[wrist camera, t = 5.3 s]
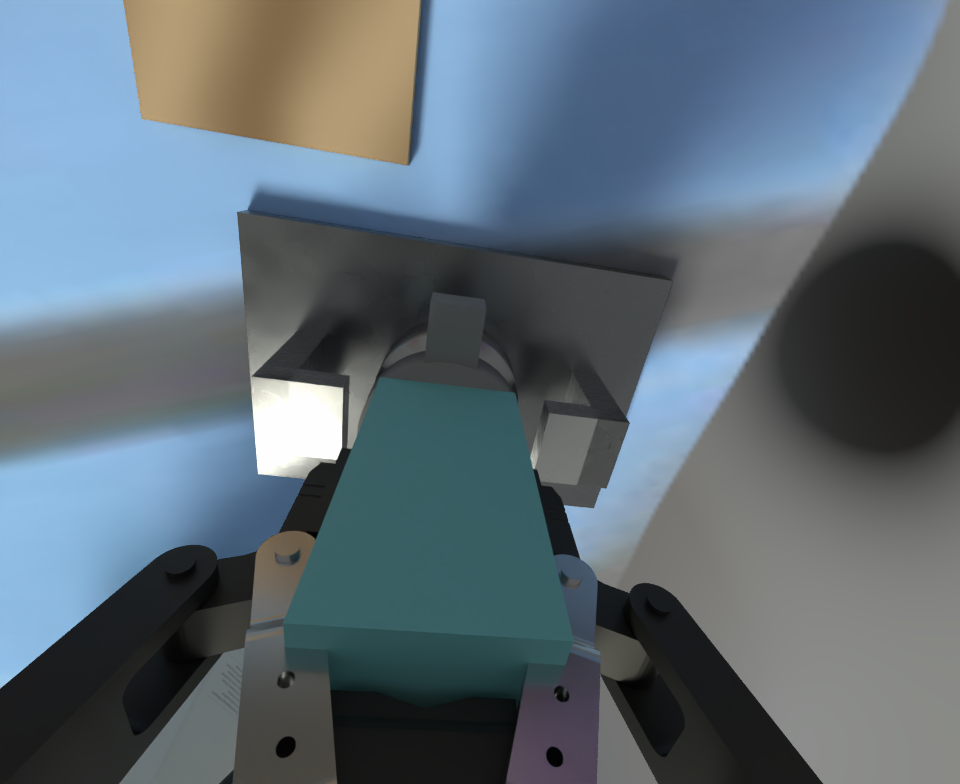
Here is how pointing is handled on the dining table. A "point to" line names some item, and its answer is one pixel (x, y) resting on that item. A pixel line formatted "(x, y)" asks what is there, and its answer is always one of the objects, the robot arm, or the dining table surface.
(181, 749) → the skincare box
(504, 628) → the teal block
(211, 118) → the coaster
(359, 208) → the dining table surface
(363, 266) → the grey mounting plate
